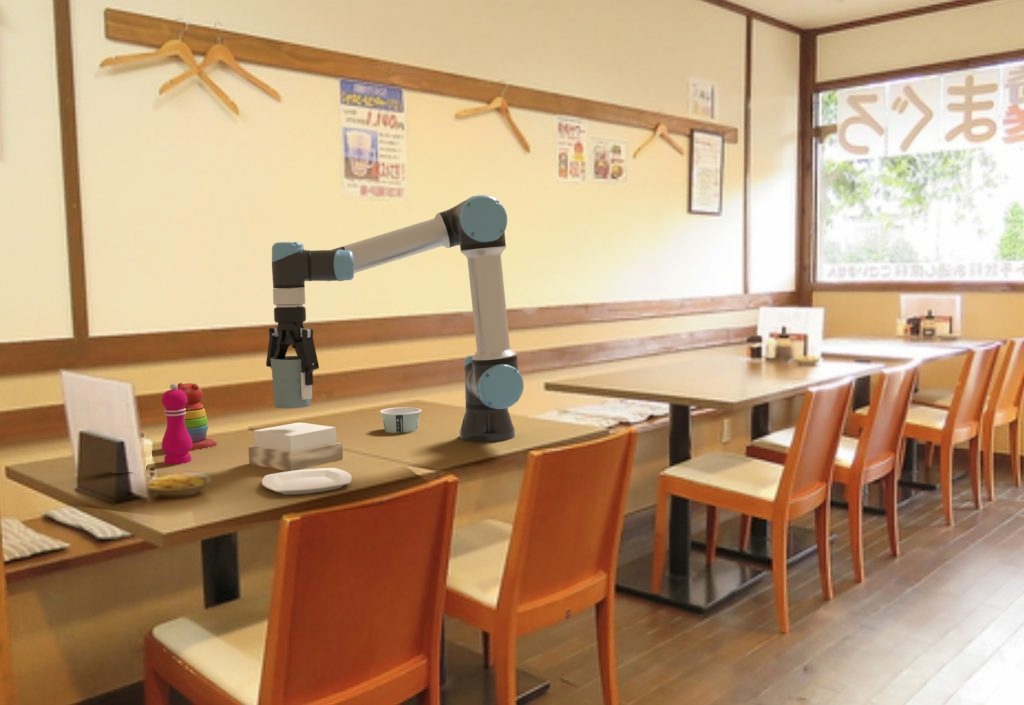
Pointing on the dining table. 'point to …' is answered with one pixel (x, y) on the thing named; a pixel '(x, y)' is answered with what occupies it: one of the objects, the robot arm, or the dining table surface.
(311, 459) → the tower base
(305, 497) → the dining table surface
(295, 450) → the tower top
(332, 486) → the plate
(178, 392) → the pepper mill
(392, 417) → the food container
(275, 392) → the blue-grey cup
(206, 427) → the stacking bear
